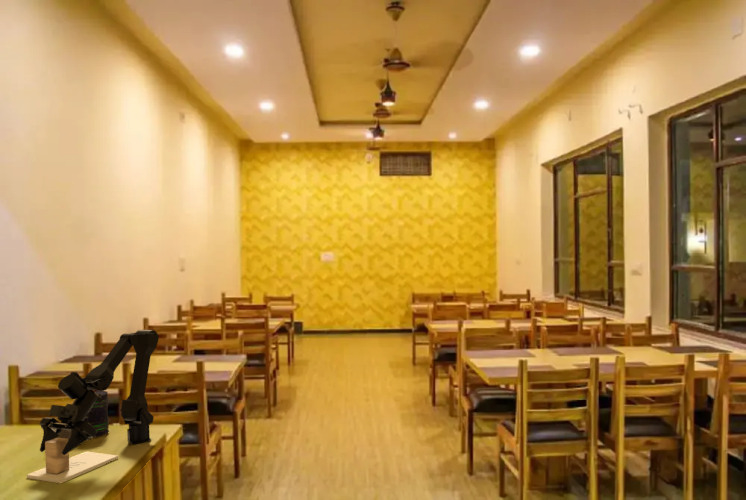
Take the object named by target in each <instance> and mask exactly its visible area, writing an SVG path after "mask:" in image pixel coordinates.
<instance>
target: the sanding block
mask: <svg viewBox="0 0 746 500" xmlns="http://www.w3.org/2000/svg"><path fill="white" fill-rule="evenodd" d="M67 442H68V439H66V438H55V439H52V440H49V441H46V442H45V450H44V452H45V453H44V454H45V455H44V456H45V467H46V473H48V474H54V475H58V474H60V473H63V472H65V471H67V470H69V458H70V452H68V453H67V454H65V455H63V454H62V451H63V449H64V447H65V446H66V444H67Z"/></svg>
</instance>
